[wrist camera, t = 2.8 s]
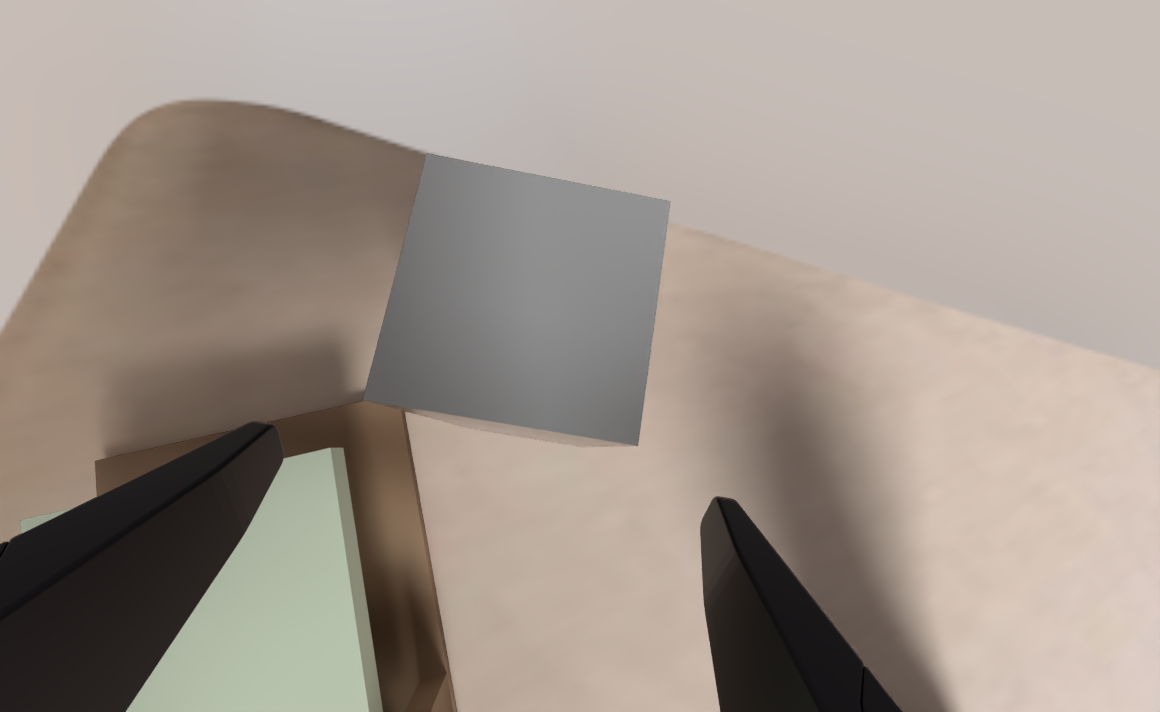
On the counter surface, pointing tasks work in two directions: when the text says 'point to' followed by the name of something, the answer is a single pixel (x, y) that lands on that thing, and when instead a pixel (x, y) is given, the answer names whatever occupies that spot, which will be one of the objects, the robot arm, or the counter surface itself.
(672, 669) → the counter surface
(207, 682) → the trapdoor
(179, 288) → the counter surface
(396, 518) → the frame
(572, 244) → the grey rectangular block
